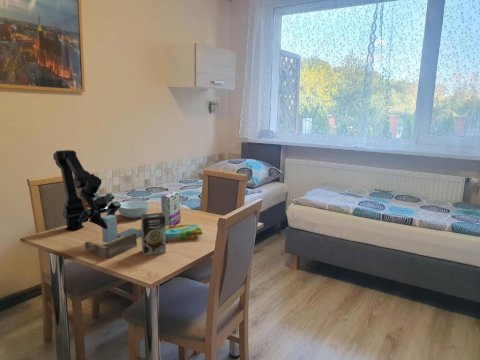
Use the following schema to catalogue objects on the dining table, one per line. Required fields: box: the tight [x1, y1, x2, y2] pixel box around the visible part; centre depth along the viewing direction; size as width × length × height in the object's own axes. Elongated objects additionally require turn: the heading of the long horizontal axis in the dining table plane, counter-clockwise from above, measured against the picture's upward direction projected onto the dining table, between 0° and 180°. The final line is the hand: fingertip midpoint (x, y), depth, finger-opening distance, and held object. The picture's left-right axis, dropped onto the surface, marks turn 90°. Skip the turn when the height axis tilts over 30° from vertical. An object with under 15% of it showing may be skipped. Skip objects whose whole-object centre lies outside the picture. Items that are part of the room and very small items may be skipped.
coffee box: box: [140, 212, 167, 256], centre depth 149 cm, size 9×6×16 cm
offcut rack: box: [84, 233, 138, 259], centre depth 152 cm, size 14×15×6 cm
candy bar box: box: [160, 191, 181, 226], centre depth 183 cm, size 11×5×16 cm, turn 162°
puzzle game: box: [165, 223, 203, 242], centre depth 168 cm, size 12×5×20 cm
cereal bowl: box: [117, 200, 150, 219], centre depth 197 cm, size 17×17×7 cm
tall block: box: [101, 214, 118, 244], centre depth 156 cm, size 4×5×11 cm
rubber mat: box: [117, 227, 142, 239], centre depth 170 cm, size 11×11×1 cm
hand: (111, 226), depth 155 cm, fingers closed on tall block, 5 cm apart
